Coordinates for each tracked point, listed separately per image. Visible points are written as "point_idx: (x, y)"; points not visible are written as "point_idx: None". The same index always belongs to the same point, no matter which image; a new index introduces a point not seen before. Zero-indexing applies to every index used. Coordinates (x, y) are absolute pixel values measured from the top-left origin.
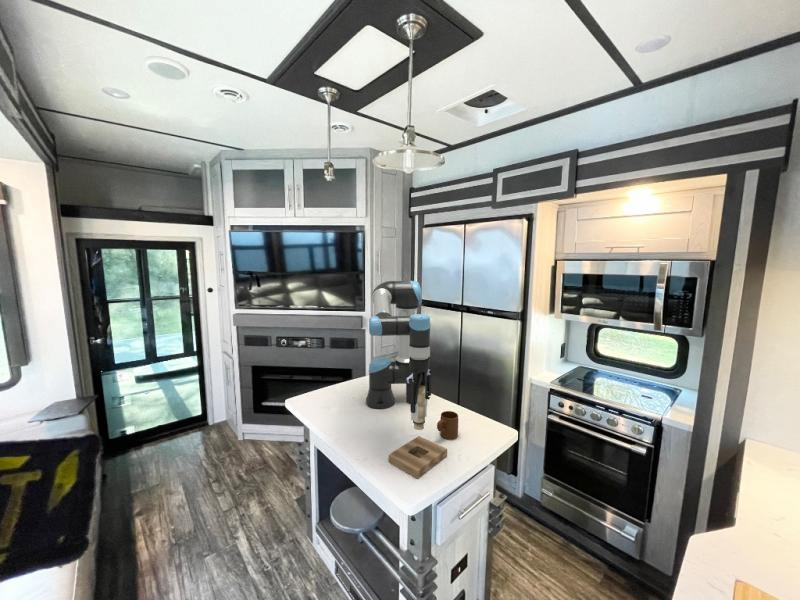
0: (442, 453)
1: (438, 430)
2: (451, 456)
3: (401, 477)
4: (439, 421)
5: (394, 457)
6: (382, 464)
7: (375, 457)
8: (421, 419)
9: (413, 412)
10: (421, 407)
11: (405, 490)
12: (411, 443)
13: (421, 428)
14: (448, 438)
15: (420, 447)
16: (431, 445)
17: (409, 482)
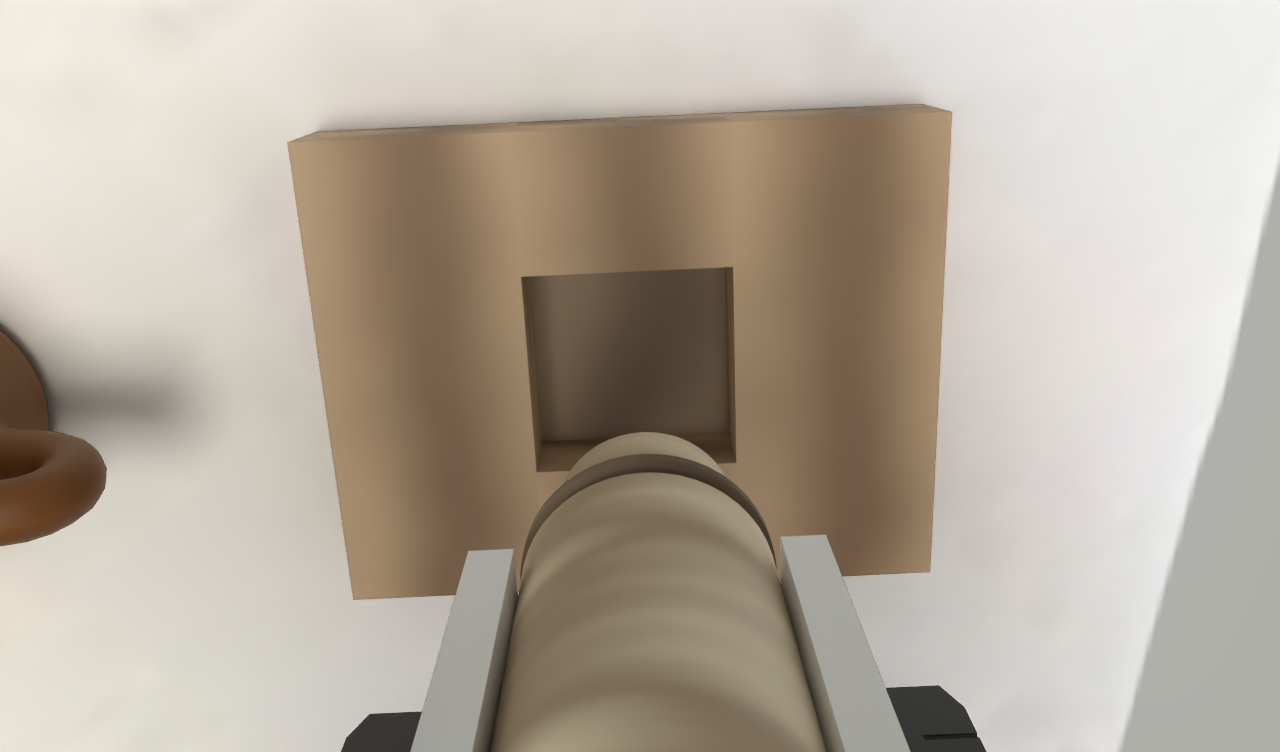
0: (409, 135)
1: (103, 463)
2: (276, 87)
3: (1015, 256)
4: (6, 525)
5: (926, 491)
6: (974, 546)
7: (931, 675)
8: (710, 512)
9: (956, 702)
10: (742, 686)
11: (1159, 74)
12: None
13: (671, 443)
14: (14, 349)
15: (533, 420)
16: (395, 347)
17: (1026, 133)
